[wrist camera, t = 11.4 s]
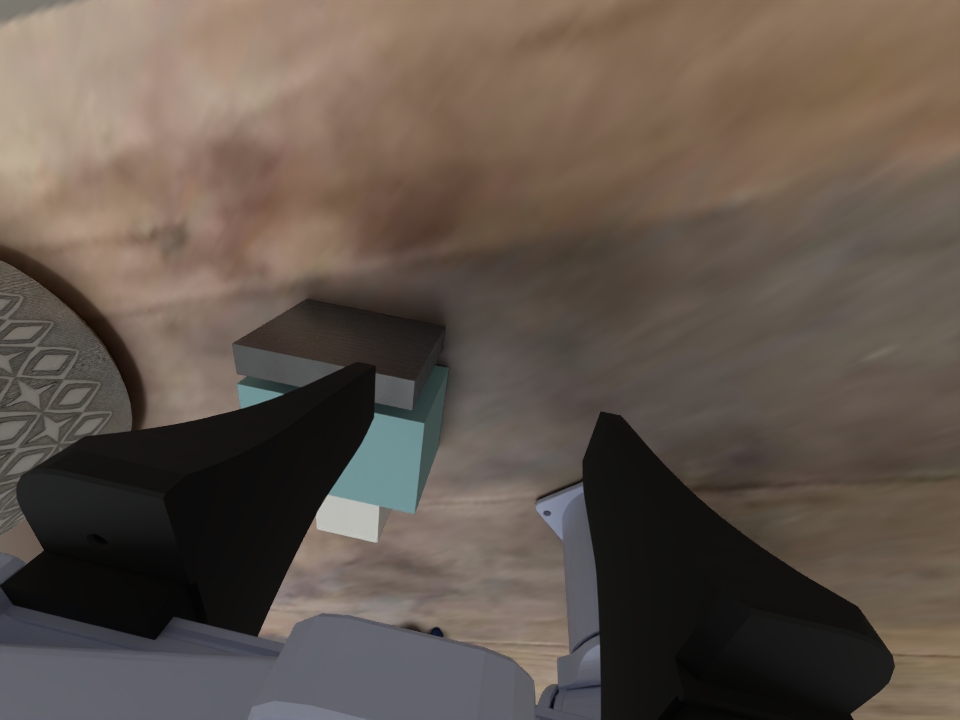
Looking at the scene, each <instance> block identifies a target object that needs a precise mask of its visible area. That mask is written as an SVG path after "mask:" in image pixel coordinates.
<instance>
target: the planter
mask: <svg viewBox="0 0 960 720" xmlns="http://www.w3.org/2000/svg"><path fill="white" fill-rule="evenodd" d="M131 428H132V411H131V403H130V400H129V396H128V393H127V389H126V387H125V384H124V382H123V380H122V378H121V375H120V372H119V370H118V368H117V366H116V363H115V361H114V360H113V358H112V356H111V355H110V353H109V351H108V350H107V348H106V346H105V345H104V344H103V342H102V341H101V340H100V338H99V337H98V336H97V334H96V333H95V332H94V331H93V330H92V329H91V328H90V326H89V325H88V324H87V323H86V322H85V321H84V320H83V319H82V318H81V317H80V316H79V315H78V314H77V313H76V312H75V311H73V310H72V309H71V308H70V307H69V306H68V305H67V304H65V303H64V302H63V301H61V300H60V299H59V298H57V297H56V296H55V295H54V294H52V293H51V292H50V291H48V290H47V289H46V288H44V287H43V286H42V285H41V284H39V283H38V282H37V281H35V280H34V279H32V278H31V277H29V276H27V275H26V274H24V273H23V272H21V271H20V270H18V269H16V268H15V267H13V266H11V265H9V264H7V263H5V262H3V261H1V260H0V536H1V535H3V534H4V533H6V532H7V531H8V530H10V529H11V528H12V527H14V526H16V525H17V524H19V523H20V522H21V521H23V520H24V519H26V518H25V516H24V514H23V512H22V511H21V508H20V506H19V503H18V501H17V498H16V486H17V483H18V481H19V479H20V477H21V475H23V474H24V473H26V472H28V471H29V470H31V469H33V468H34V467H36V466H37V465H39V464H41V463H42V462H44V461H45V460H47V459H49V458H50V457H52V456H54V455H55V454H57V453H58V452H60V451H62V450H63V449H65V448H66V447H68V446H70V445H71V444H73V443H75V442H76V441H78V440H79V439H81V438H83V437H85V436H91V435H101V434H109V433H118V432H127V431H131Z"/></svg>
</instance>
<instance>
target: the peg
mask: <svg viewBox="0 0 960 720" xmlns="http://www.w3.org/2000/svg"><path fill="white" fill-rule="evenodd" d="M391 510H392V509H390V508H385V507H381V506H376V505H372V504H367V503H363V502H358V501H354V500H349V499H345V498H340V497H336V496H331V495H327V497H326V498H325V500H324V502H323V503H322V505H321V507H320V508H319V510H318V512H317V514H316V520H317V529H319V530H323V531H328V532H332V533H336V534H341V535H345V536H349V537H354V538H358V539H362V540H367V541H371V542H375V543H378V540H379V538H380V536H381V533H382V531H383V529H384V526H385V524H386V521H387V519H388V517H389V514H390V512H391Z"/></svg>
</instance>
